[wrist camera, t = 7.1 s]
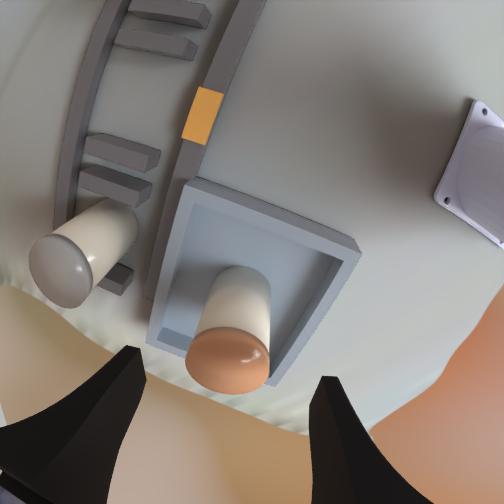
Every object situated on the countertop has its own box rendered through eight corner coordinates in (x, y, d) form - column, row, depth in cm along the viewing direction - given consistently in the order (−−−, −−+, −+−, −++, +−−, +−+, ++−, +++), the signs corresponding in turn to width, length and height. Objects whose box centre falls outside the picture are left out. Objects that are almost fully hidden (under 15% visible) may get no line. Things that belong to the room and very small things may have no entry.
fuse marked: (274, 267, 19) (272, 341, 13) (269, 318, 21) (266, 397, 14) (210, 262, 19) (180, 333, 13) (211, 314, 21) (189, 389, 15)
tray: (353, 238, 18) (362, 254, 16) (276, 366, 24) (275, 386, 22) (194, 175, 17) (184, 184, 15) (154, 324, 23) (145, 342, 21)
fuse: (144, 209, 19) (87, 257, 12) (133, 260, 20) (85, 319, 14) (93, 190, 18) (27, 228, 12) (87, 240, 20) (31, 290, 14)
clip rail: (296, -54, 10) (298, -69, 8) (163, 295, 22) (155, 311, 20) (157, -72, 9) (146, -84, 8) (59, 249, 21) (45, 261, 19)
